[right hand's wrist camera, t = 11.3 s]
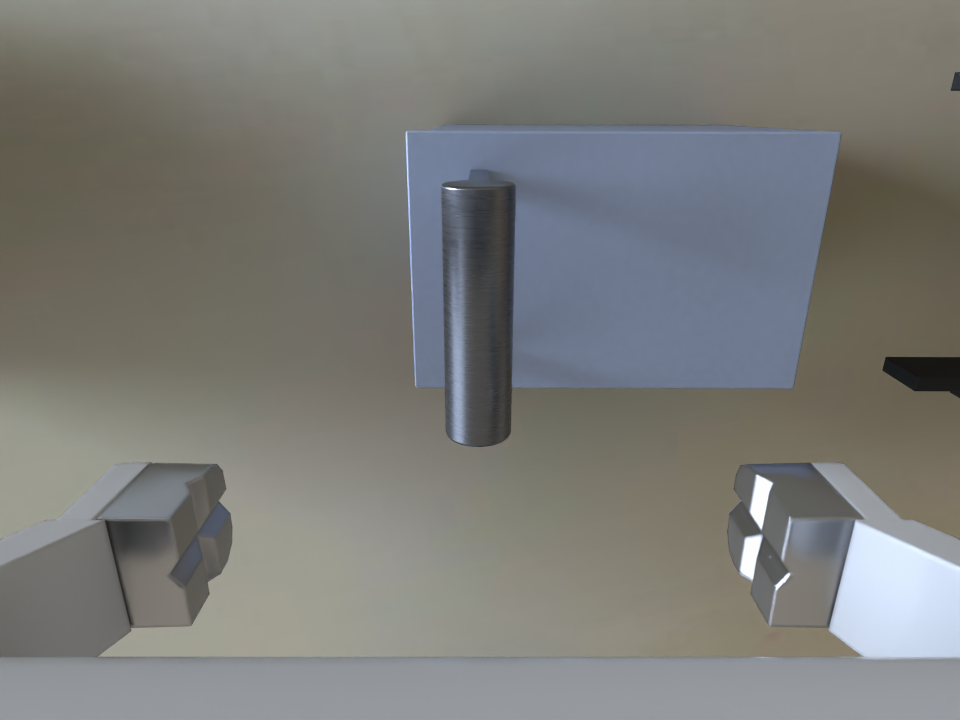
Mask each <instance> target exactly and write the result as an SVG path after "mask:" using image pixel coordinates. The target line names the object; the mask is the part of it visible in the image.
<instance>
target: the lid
mask: <svg viewBox="0 0 960 720" xmlns="http://www.w3.org/2000/svg"><path fill="white" fill-rule="evenodd" d="M841 135H842V134H841V132H830V131H407V132H406V154H407V181H408V208H409V235H410V262H411V289H412V316H413V343H414V370H415V387H417V388H445V416H446V434H447V436H448V437H449V438H450V439H451V440H452V441H454V442H456V443H458V444H461V445H465V446H472V447H484V446H491V445H495V444H498V443H501V442H503V441H504V440H506V439H507V438H508V437H509V435H510V433H511V402H512V388H793V387H794V382H795V377H796V372H797V366H798V361H799V356H800V350H801V345H802V340H803V335H804V329H805V324H806V319H807V314H808V308H809V303H810V298H811V293H812V287H813V282H814V277H815V271H816V266H817V261H818V256H819V250H820V245H821V240H822V235H823V229H824V224H825V219H826V214H827V208H828V203H829V198H830V193H831V187H832V182H833V177H834V171H835V166H836V161H837V156H838V150H839V145H840V140H841Z"/></svg>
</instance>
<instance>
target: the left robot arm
mask: <svg viewBox="0 0 960 720" xmlns="http://www.w3.org/2000/svg"><path fill="white" fill-rule="evenodd" d="M951 91H960V72H955V75H954V79H953V83H952V87H951ZM883 371H884V372H886V373H887V374H889V375H890V376H892V377H894V378H895V379H897V380H898V381H900V382H901V383H903V384H904V385H906V386H907V387H909V388H911V389H912V390H914V391H950V393H952V394H954V395H955V396H957V397H959V398H960V357H886V358H885V362H884V366H883Z"/></svg>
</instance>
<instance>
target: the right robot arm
mask: <svg viewBox="0 0 960 720" xmlns="http://www.w3.org/2000/svg"><path fill="white" fill-rule="evenodd" d="M225 490H226V484H225V479H224V475H223V470H222V469H221V468H220V467H219V466H218V465H217V464H192V463H151V462H137V463H119V464H115V465H114V466H113V467H112V468H111V469H110V470H109V471H108V472H107V473H106V474H105V475H103V476H102V477H101V478H100V479H99V480H98V481H97V482H96V483H95V484H94V485H93V486H92V487H91V488H90V489H89V490H88V491H87V492H86V493H85V494H83V495H82V496H81V497H80V498H79V499H78V500H77V501H76V502H75V503H74V504H73V505H72V506H71V507H70V508H69V509H68V510H67V511H66V512H65V513H64V514H62V515H61V516H60V517H59V518H58V519H57V520H44V521H42V522H40V523H37V524H35V525H33V526H30V527H28V528H25V529H23V530H21V531H18V532H16V533H14V534H11V535H9V536H6V537H4V538H2V539H0V720H960V539H958V538H956V537H954V536H951V535H949V534H946V533H944V532H942V531H939V530H937V529H935V528H932V527H930V526H927V525H925V524H923V523H920V522H918V521H916V520H903V519H902V518H901V517H900V516H899V515H898V514H897V513H895V512H894V511H893V510H892V509H891V508H890V507H889V506H888V505H887V504H886V503H885V502H884V501H883V500H882V499H881V498H880V497H879V496H878V495H877V494H876V493H875V492H873V491H872V490H871V489H870V488H869V487H868V486H867V485H866V484H865V483H864V482H863V481H862V480H861V479H860V478H859V477H858V476H857V475H856V474H855V473H854V472H853V471H851V470H850V469H849V468H848V467H847V466H846V465H845V464H842V463H838V462H825V463H784V464H747V465H740V467H739V470H738V472H737V474H736V478H735V484H734V490H735V492H736V493H737V495H738V496H739V498H740V500H741V502H740V503H739V504H738V505H737V506H736V507H735V508H734V509H733V510H732V512H731V513H730V515H729V523H728V531H727V533H728V544H729V551H730V554H731V558H732V561H733V563H734V565H735V567H736V569H737V571H738V572H739V574H741V575H742V576H744V577H745V578H747V579H749V580H750V581H752V588H751V596H752V597H753V599H754V601H755V603H756V604H757V606H758V608H759V610H760V611H761V613H762V615H763V617H764V618H765V620H766V622H767V624H768V625H769V626H778V627H815V628H829V630H828V631H830V632H831V633H832V634H834V635H835V636H836V637H838V638H839V639H840V640H842V641H843V642H844V643H846V644H847V645H848V646H849V647H851V648H852V649H853V650H855V651H856V652H857V653H859V654H860V655H861V656H863V657H98V656H99V655H100V654H102V653H103V652H104V651H106V650H107V649H108V648H109V647H111V646H112V645H113V644H115V643H116V642H117V641H119V640H120V639H121V638H123V637H124V636H125V635H127V634H128V633H129V632H130V631H131V628H145V627H180V626H192V624H193V622H194V620H195V619H196V617H197V615H198V613H199V612H200V610H201V608H202V606H203V604H204V603H205V601H206V599H207V597H208V596H209V594H210V593H209V588H208V581H210V580H211V579H213V578H215V577H216V576H218V575H219V574H221V572H222V571H223V569H224V567H225V565H226V563H227V561H228V558H229V554H230V549H231V545H232V521H231V514H230V513H229V512H228V510H227V509H226V508H225V507H224V506H223V505H222V504H221V503H220V502H219V500H220V498H221V496H222V495H223V493H224V492H225Z"/></svg>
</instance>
